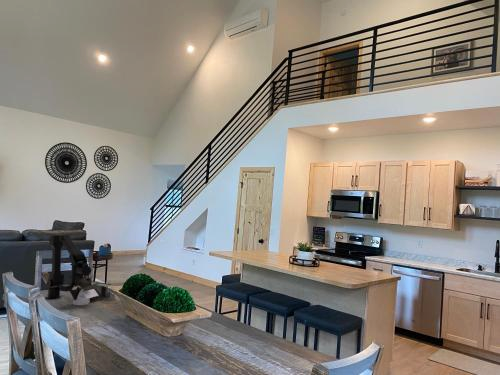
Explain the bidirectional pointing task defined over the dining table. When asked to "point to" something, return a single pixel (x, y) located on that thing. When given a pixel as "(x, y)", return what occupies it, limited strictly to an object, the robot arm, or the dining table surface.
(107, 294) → the gauge housing
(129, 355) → the dining table surface
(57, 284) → the robot arm
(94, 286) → the gauge plunger
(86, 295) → the wedge on round base
